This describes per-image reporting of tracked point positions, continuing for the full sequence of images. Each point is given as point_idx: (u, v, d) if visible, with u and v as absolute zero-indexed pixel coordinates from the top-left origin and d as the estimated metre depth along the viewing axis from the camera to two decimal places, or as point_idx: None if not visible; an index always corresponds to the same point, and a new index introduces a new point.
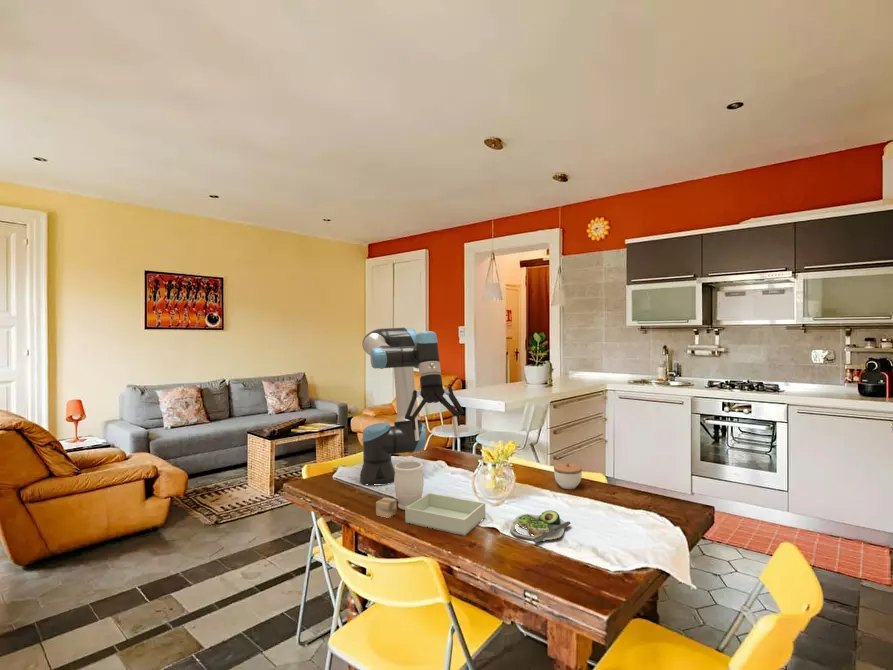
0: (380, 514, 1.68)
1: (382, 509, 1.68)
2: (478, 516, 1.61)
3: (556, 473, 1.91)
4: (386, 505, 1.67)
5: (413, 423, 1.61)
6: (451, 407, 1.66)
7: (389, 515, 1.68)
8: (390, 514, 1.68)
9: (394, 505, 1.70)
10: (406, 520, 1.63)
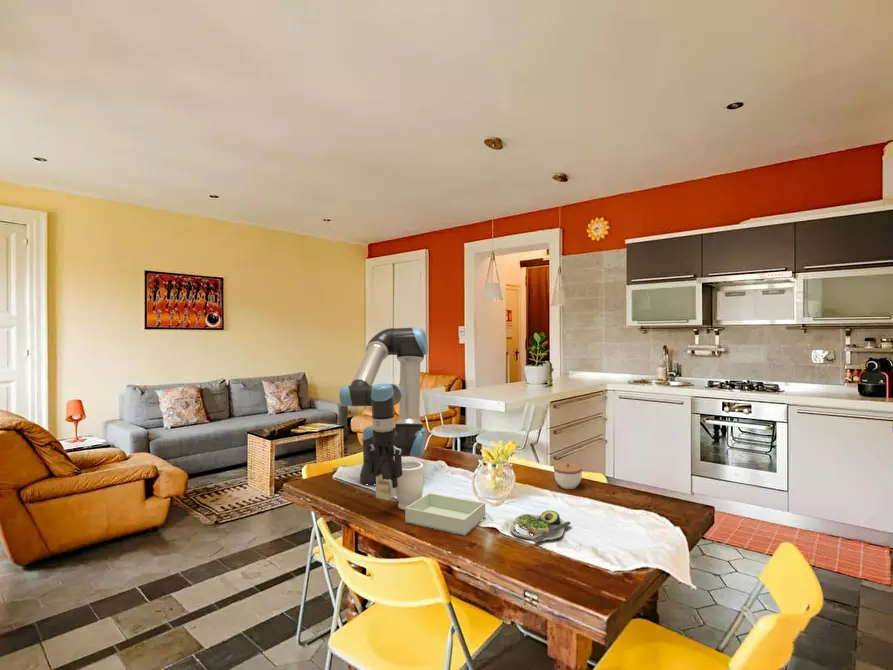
0: (380, 495, 1.69)
1: (382, 490, 1.68)
2: (478, 516, 1.61)
3: (556, 473, 1.91)
4: (386, 486, 1.67)
5: (376, 479, 1.71)
6: (390, 468, 1.67)
7: (389, 496, 1.68)
8: None
9: None
10: (406, 520, 1.63)
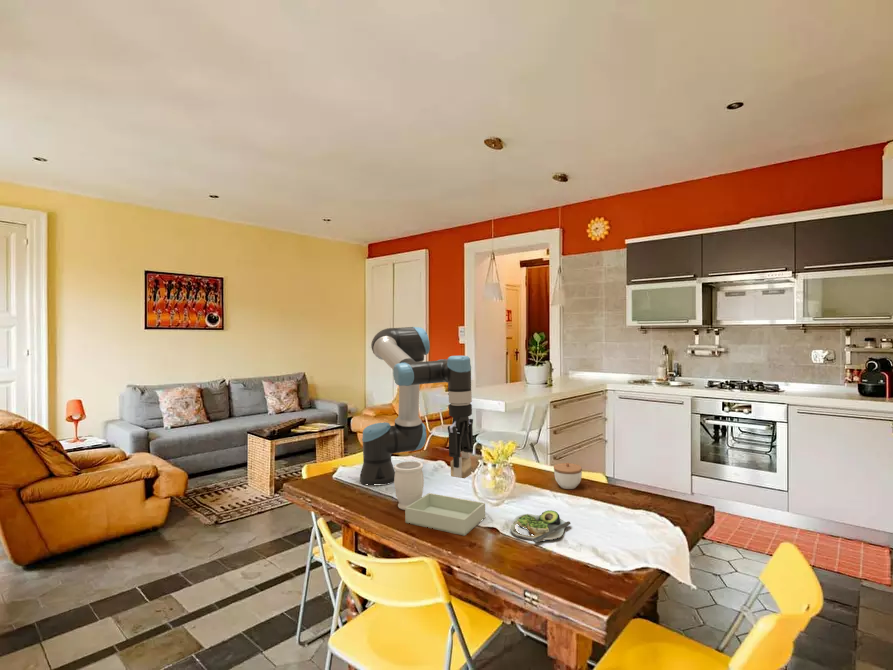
0: None
1: None
2: (478, 516, 1.61)
3: (556, 473, 1.91)
4: None
5: None
6: None
7: (453, 473, 1.59)
8: None
9: None
10: (406, 520, 1.63)
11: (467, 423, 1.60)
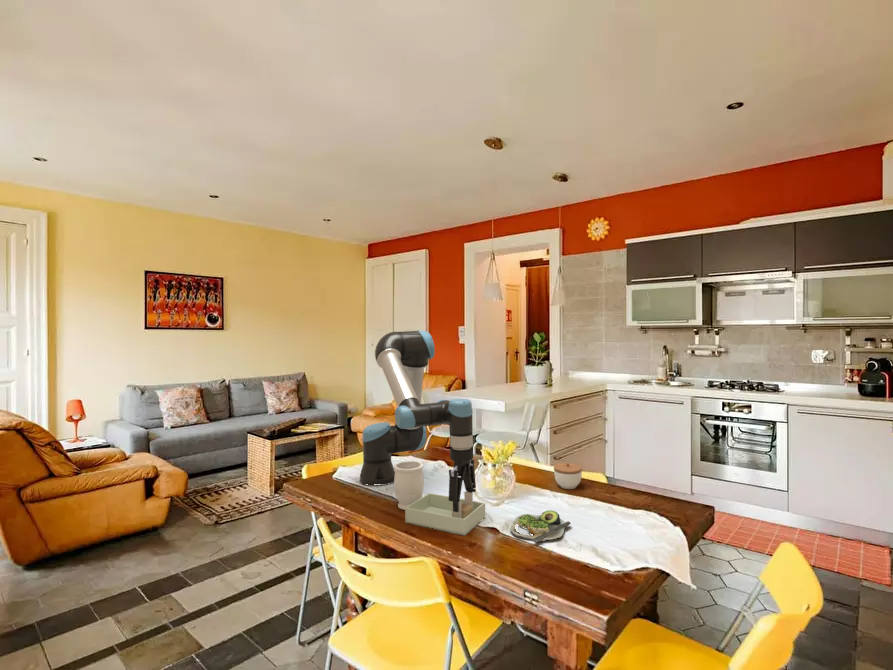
0: None
1: None
2: (478, 516, 1.61)
3: (556, 473, 1.91)
4: None
5: None
6: None
7: None
8: None
9: (462, 515, 1.58)
10: (406, 520, 1.63)
11: (468, 467, 1.60)
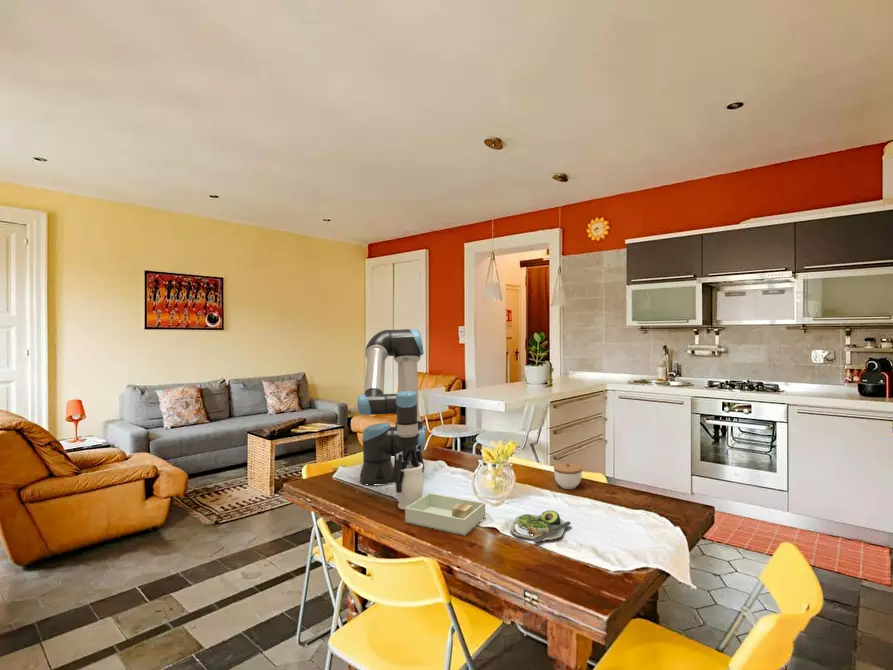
0: None
1: None
2: (478, 516, 1.61)
3: (556, 473, 1.91)
4: None
5: None
6: None
7: None
8: None
9: (462, 515, 1.58)
10: (406, 520, 1.63)
11: (414, 453, 1.77)
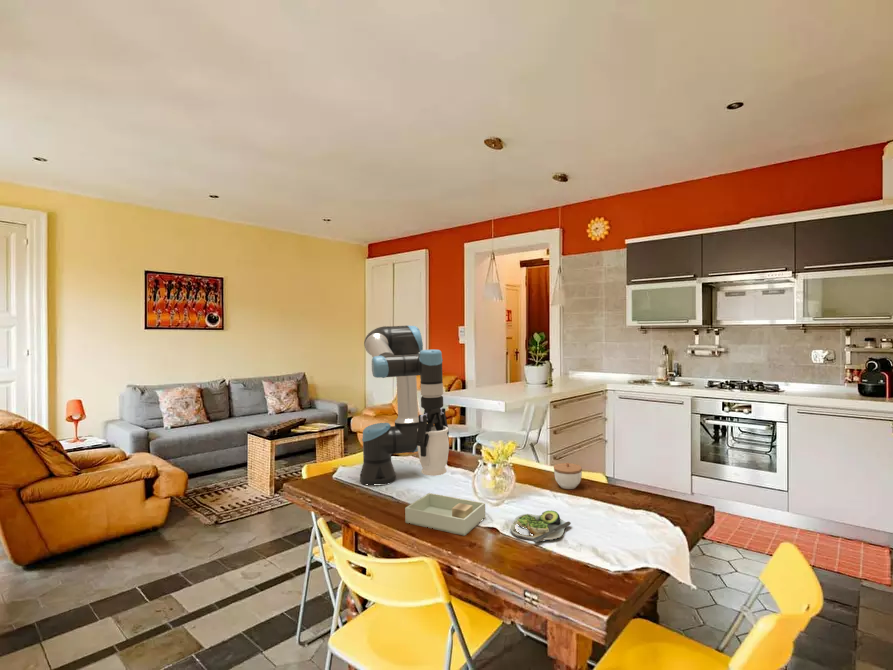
0: None
1: None
2: (478, 516, 1.61)
3: (556, 473, 1.91)
4: None
5: None
6: None
7: None
8: None
9: (462, 515, 1.58)
10: (406, 520, 1.63)
11: (439, 415, 1.65)
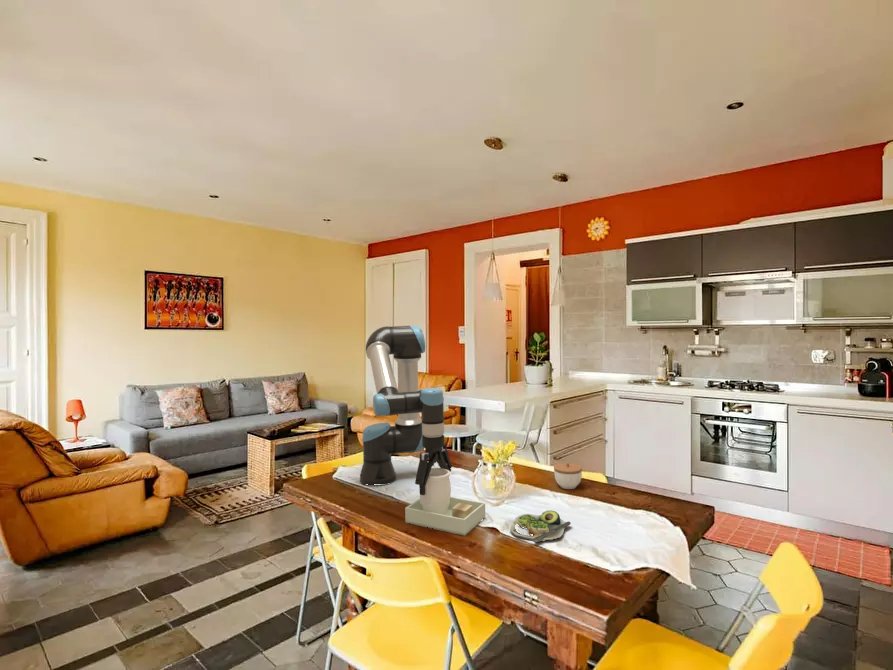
0: None
1: None
2: (478, 516, 1.61)
3: (556, 473, 1.91)
4: None
5: None
6: None
7: None
8: None
9: (462, 515, 1.58)
10: (406, 520, 1.63)
11: (440, 454, 1.66)
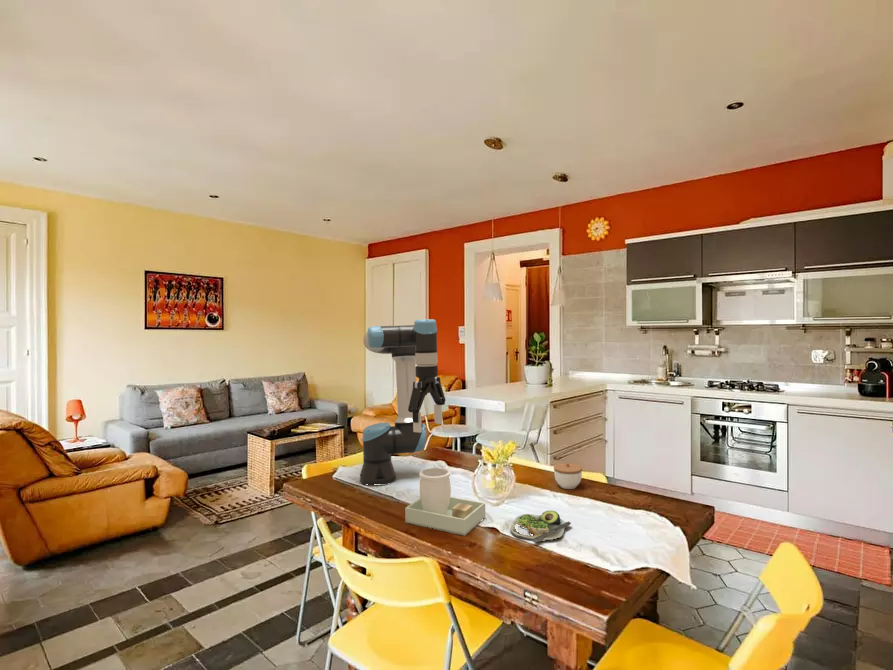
0: None
1: None
2: (478, 516, 1.61)
3: (556, 473, 1.91)
4: None
5: None
6: None
7: None
8: None
9: (462, 515, 1.58)
10: (406, 520, 1.63)
11: (433, 384, 1.66)
